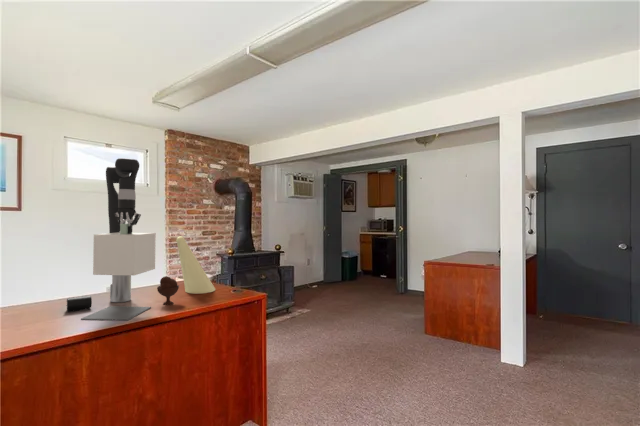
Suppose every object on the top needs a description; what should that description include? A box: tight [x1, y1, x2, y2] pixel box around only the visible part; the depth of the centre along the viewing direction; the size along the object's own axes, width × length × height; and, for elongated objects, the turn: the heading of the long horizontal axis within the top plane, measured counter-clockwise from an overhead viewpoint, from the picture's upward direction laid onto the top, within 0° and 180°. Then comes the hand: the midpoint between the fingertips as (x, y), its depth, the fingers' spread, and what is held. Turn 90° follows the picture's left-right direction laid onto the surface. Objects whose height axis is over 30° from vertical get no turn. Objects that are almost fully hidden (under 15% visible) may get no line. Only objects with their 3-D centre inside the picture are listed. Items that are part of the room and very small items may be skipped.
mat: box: [80, 305, 152, 322], centre depth 172 cm, size 22×22×1 cm
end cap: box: [66, 295, 93, 313], centre depth 177 cm, size 10×7×7 cm
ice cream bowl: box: [157, 276, 180, 306], centre depth 191 cm, size 11×11×15 cm
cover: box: [92, 222, 156, 276], centre depth 175 cm, size 20×20×24 cm
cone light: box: [175, 235, 216, 295], centre depth 223 cm, size 25×18×35 cm
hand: (126, 233), depth 175 cm, fingers closed on cover, 2 cm apart
